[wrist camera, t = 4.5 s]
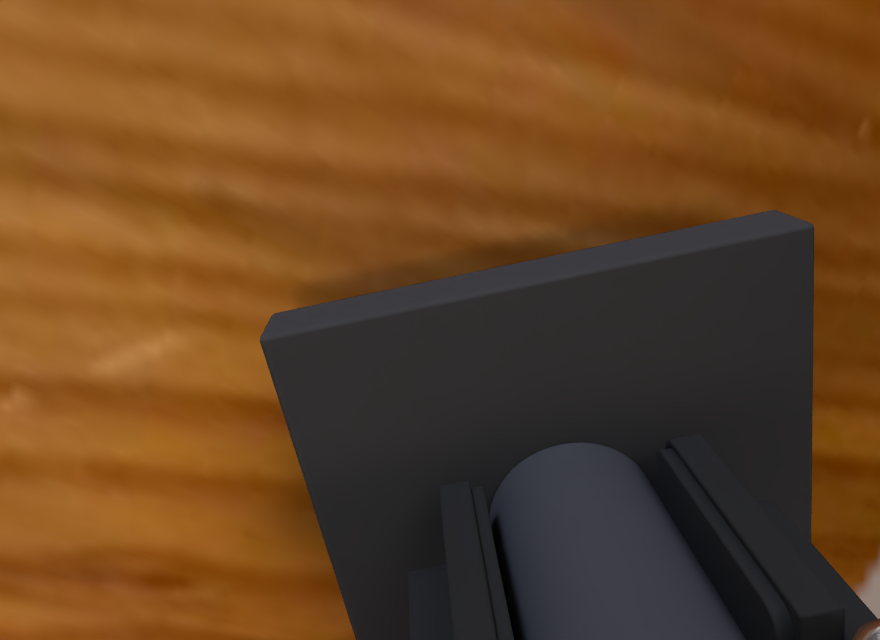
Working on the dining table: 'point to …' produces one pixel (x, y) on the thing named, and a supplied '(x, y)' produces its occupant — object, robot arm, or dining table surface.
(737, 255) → the black square peg base
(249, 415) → the dining table surface
